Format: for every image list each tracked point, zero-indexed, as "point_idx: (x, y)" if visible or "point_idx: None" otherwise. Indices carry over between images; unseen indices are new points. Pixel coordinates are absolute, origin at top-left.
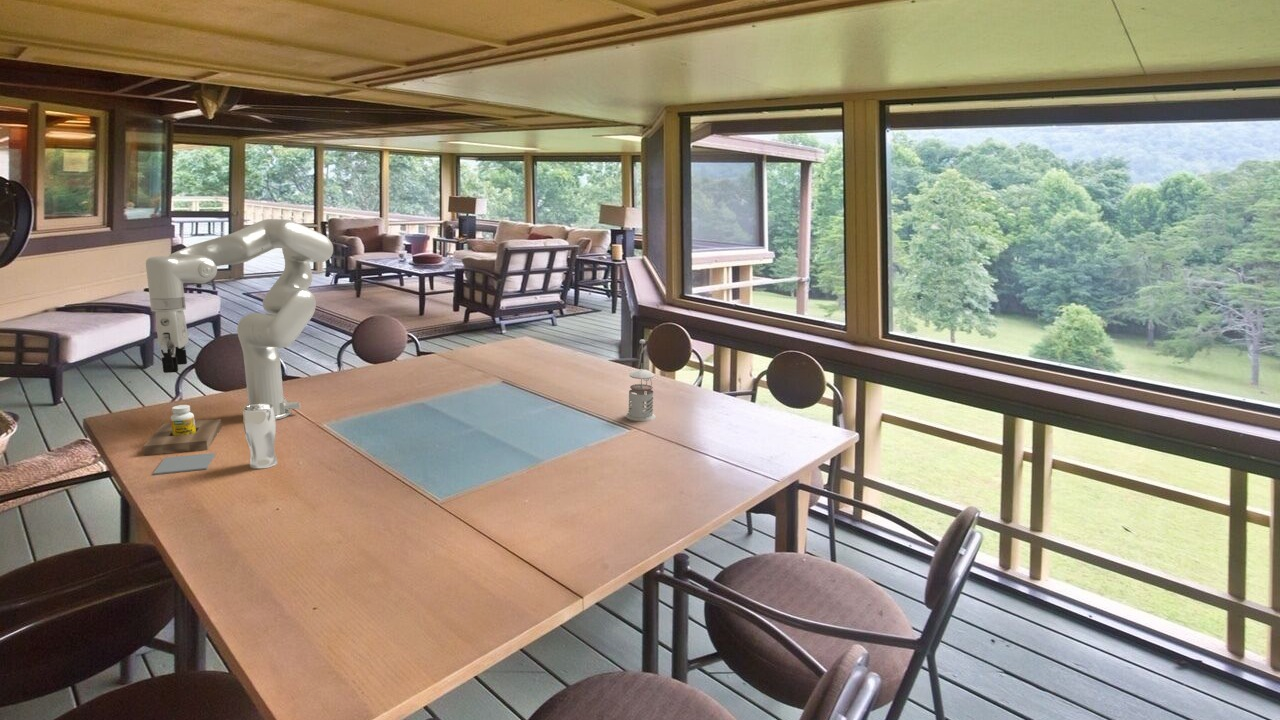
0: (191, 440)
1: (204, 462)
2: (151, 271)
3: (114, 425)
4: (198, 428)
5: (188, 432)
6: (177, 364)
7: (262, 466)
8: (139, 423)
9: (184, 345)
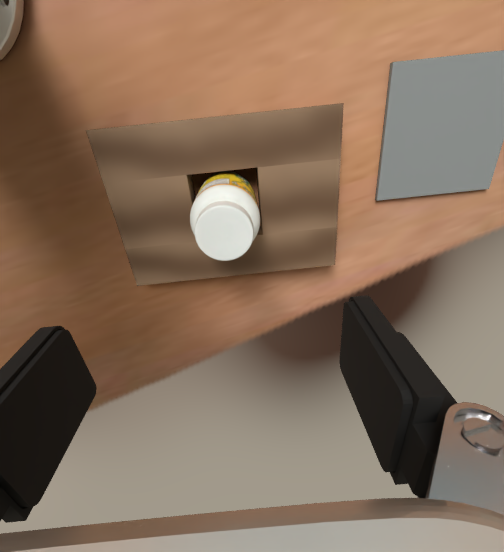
0: (324, 155)
1: (474, 70)
2: None
3: (94, 378)
4: (187, 177)
5: (250, 188)
6: (379, 331)
7: None
8: (76, 344)
9: (223, 531)
